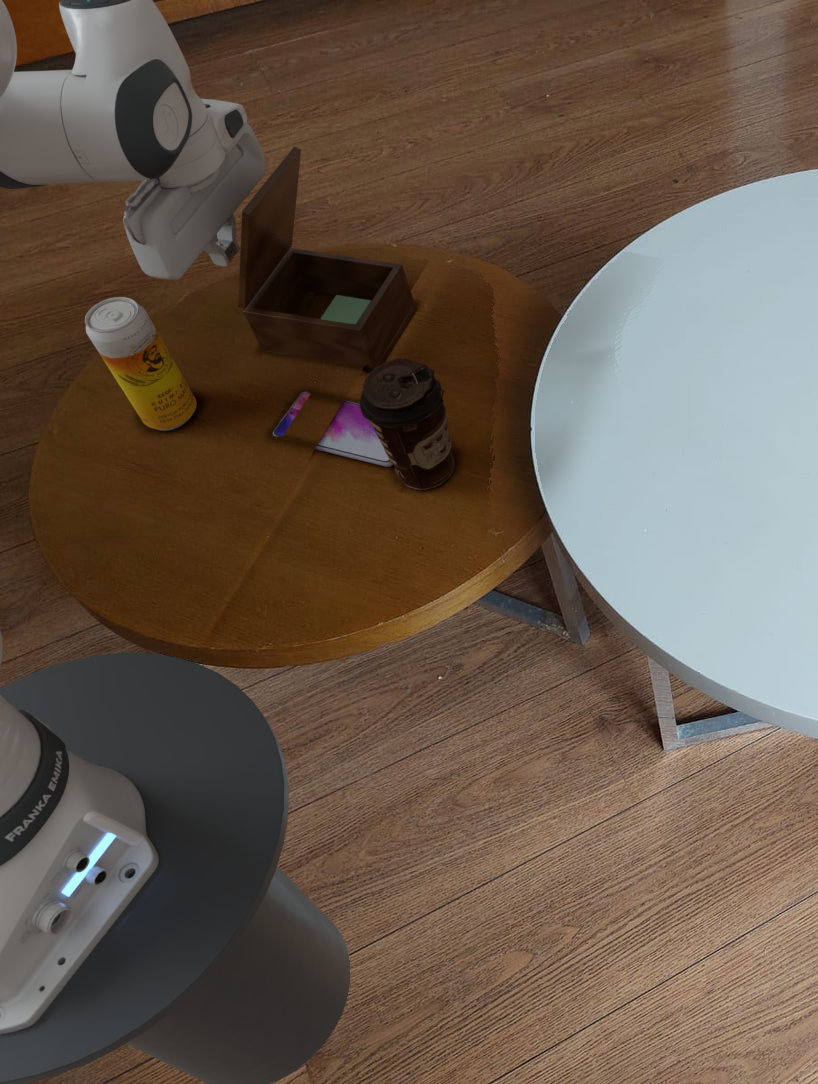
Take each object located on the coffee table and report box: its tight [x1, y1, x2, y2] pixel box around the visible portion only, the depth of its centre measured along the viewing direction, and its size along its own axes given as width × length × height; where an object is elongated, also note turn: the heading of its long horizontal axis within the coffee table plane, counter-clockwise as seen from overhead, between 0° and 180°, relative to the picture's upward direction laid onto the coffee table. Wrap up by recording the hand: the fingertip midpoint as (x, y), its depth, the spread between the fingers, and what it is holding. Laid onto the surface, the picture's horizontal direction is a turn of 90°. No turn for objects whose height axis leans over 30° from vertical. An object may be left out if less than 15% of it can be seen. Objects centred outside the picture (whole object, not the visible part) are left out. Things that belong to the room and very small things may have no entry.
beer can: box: [84, 296, 198, 432], centre depth 120 cm, size 6×6×15 cm
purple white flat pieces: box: [272, 391, 394, 468], centre depth 123 cm, size 7×1×15 cm
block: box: [319, 295, 372, 325], centre depth 129 cm, size 4×4×4 cm
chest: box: [243, 247, 417, 374], centre depth 130 cm, size 15×12×7 cm
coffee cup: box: [359, 358, 455, 491], centre depth 115 cm, size 9×8×13 cm
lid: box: [237, 145, 302, 311], centre depth 122 cm, size 15×12×1 cm
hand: (227, 258), depth 122 cm, fingers closed
